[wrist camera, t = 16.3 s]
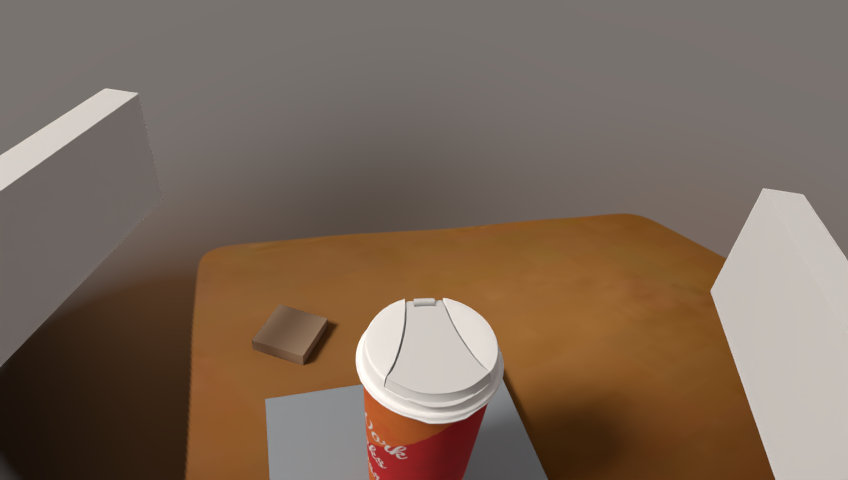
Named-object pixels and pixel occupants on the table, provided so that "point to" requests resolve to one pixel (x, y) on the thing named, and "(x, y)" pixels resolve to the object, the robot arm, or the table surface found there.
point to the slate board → (347, 445)
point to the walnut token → (290, 334)
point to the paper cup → (426, 387)
